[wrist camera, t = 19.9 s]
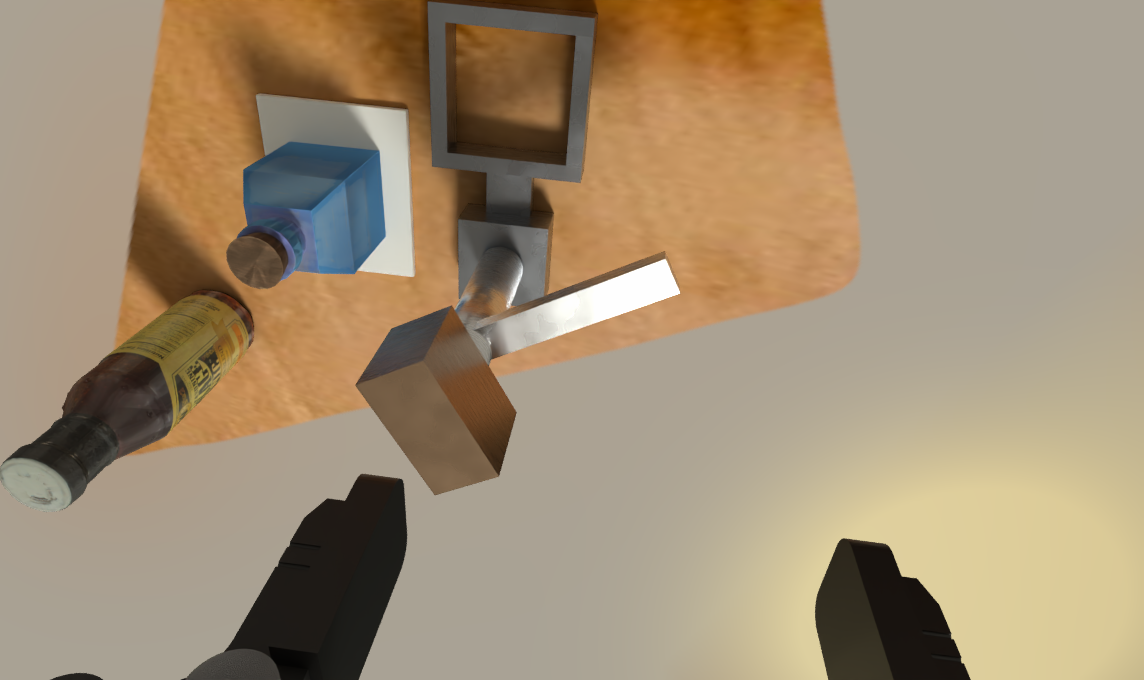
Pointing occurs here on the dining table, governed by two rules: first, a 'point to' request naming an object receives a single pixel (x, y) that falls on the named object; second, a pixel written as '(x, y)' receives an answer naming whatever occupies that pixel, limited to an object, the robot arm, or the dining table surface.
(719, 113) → the dining table surface
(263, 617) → the robot arm
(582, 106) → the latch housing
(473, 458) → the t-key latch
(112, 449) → the sauce bottle
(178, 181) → the dining table surface
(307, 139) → the pad
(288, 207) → the perfume bottle
